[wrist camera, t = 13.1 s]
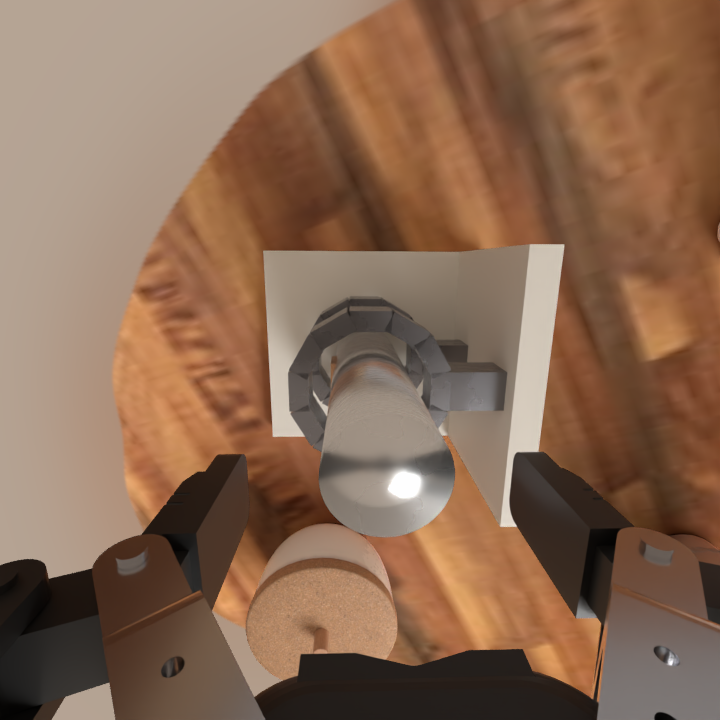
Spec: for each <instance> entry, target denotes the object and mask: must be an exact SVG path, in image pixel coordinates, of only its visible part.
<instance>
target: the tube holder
mask: <svg viewBox="0 0 720 720" xmlns="http://www.w3.org/2000/svg"><path fill="white" fill-rule="evenodd" d="M563 252H564V244H528V245H519V246H509V247H500V248H491V249H482V250H472V251H463V252H403V251H263V256H264V275H265V294H266V313H267V332H268V351H269V370H270V389H271V409H272V428H273V437H299V436H304V434H303V433H302V431H301V430H300V428H299V427H298V425H297V424H296V422H295V421H294V419H293V418H292V416H291V415H290V413H291V412H289V389H288V372H289V368H290V367H291V365H292V363H293V361H294V359H295V358H296V356H297V354H298V352H299V350H300V349H301V347H302V345H303V343H304V342H305V340H306V338H307V336H308V334H309V333H310V331H311V329H312V328H313V326H314V324H315V323H316V321H317V319H318V317H319V315H320V314H321V313H322V311H324V310H326V309H327V308H329V307H331V306H333V305H334V304H336V303H338V302H340V301H341V300H343V299H345V298H346V297H348V298H349V300H350V296H379V297H380V298H381V297H382V298H384V299H385V300H387V301H389V302H390V303H392V304H394V305H395V306H397V307H399V308H401V309H402V310H404V311H406V312H407V313H408V314H409V315H410V316H411V317H412V318H413V320H414V321H415V322H417V323H418V324H420V325H422V326H423V327H424V328H426V329H427V330H428V331H429V332H430V333H431V334H432V335H433V336H434V338H435V340H461V341H463V342H464V343H465V344H467V345H468V356H467V362H493V363H494V364H496V365H497V366H499V367H500V368H502V369H503V370H505V371H506V372H507V382H506V392H505V402H504V411H447V412H448V415H447V416H446V418H445V419H444V421H443V422H442V424H441V425H440V427H439V428H438V430H439V431H440V433H441V435H442V436H448V437H449V438H450V440H451V442H452V444H453V445H454V447H455V449H456V451H457V452H458V454H459V456H460V458H461V459H462V461H463V463H464V465H465V466H466V468H467V470H468V472H469V473H470V475H471V477H472V479H473V480H474V482H475V484H476V486H477V487H478V489H479V491H480V493H481V494H482V496H483V498H484V500H485V501H486V503H487V505H488V507H489V508H490V510H491V512H492V514H493V515H494V517H495V519H496V521H497V522H498V524H499V526H500V527H517V525H516V524H515V522H514V521H513V518H512V515H511V512H510V505H509V497H510V487H511V477H512V467H513V459H514V456H515V454H516V453H517V452H538V450H539V442H540V434H541V426H542V418H543V411H544V403H545V395H546V387H547V379H548V371H549V363H550V355H551V347H552V339H553V331H554V323H555V316H556V308H557V300H558V292H559V284H560V276H561V268H562V260H563ZM385 333H386V335H387V336H388V338H389V340H390V342H391V344H392V346H393V347H394V349H395V351H396V353H397V355H398V357H399V358H400V360H401V362H402V364H403V366H404V367H405V365H406V347H407V343H406V342H404V341H402V340H400V339H399V338H397V337H395V336H393V335H392V334H390V333H388V332H385ZM337 343H338V341H337V342H336V343H334V344H332V345H330V346H329V347H327V348H325V349H324V351H323V353H322V354H321V365H322V366H323V368H324V370H325V371H326V373H327V374H328V376H329V378H330V379H331V358H332V356H336V350H337ZM417 391H418V393H419V395H420V397H421V396H422V394H423V380H422V381H421V383H420V384H419V386H418V388H417ZM313 395H314V397H315V398H316V400H317V401H318V403H319V405H320V406H321V408H322V409H323V411H324V412H325V414H326V416H327V412H328V406H326V405H324V404H322V401H321V402H320V400H319V399H318V397H317V396H316V394H315V392H314V391H313Z"/></svg>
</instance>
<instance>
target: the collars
mask: <svg viewBox="0 0 720 720" xmlns="http://www.w3.org/2000/svg"><path fill="white" fill-rule="evenodd" d="M353 332H388V333H390V334H392V335H393V336H395V337H397V338H399V339H400V340H402V341H404V342H406V343H407V347H406V365H405V367H404V368H405V369H406V371H407V373H408V375H409V377H410V378H411V380H412V382H413V384H414V386H415V388H416V389H417V388H418V386H419V384H420V383H421V381H422V380H423V394H422V396H421V399H422V400H423V402H424V404H425V406H426V408H427V410H428V411H429V413H430V415H431V417H432V419H433V420H434V422H435V424H436V426H437V428H439V427H440V425H441V424H442V422H443V421H444V419H445V418H446V416H447V415H448V412H447V411H504V402H505V392H506V382H507V372H506V371H505V370H503V369H502V368H500V367H499V366H497V365H496V364H494V363H493V362H467V356H468V345H467V344H465V343H464V342H463V341H461V340H435V338H434V336H433V335H432V334H431V333H430V332H429V331H428V330H427V329H426V328H424V327H423V326H422V325H420V324H418V323H417V322H415V321H414V320H413V318H412V317H411V316H410V315H409V314H408V313H407V312H406V311H404V310H402V309H401V308H399V307H397V306H395V305H394V304H392V303H390V302H389V301H387V300H385V299H384V298H382V297H381V298H380V297H379V296H350V300H349V298H348V297H346V298H345V299H343V300H341V301H340V302H338V303H336V304H334V305H333V306H331V307H329V308H327V309H326V310H324V311H322V313H321V314H320V315H319V317H318V319H317V321H316V323H315V324H314V326H313V328H312V329H311V331H310V333H309V334H308V336H307V338H306V340H305V342H304V343H303V345H302V347H301V349H300V350H299V352H298V354H297V356H296V358H295V359H294V361H293V363H292V365H291V367H290V368H289V372H288V389H289V412H291V413H290V415H291V416H292V418H293V419H294V421H295V422H296V424H297V425H298V427H299V428H300V430H301V431H302V433H303V434H304V436H305V437H306V439H307V440H308V442H309V443H310V445H311V446H312V445H314V446H313V448H315V449H317V450H319V451H321V452H322V447H323V440H324V433H325V426H326V419H327V416H326V414H325V412H324V411H323V409H322V408H321V406H320V405H319V403H318V401H317V400H316V398H315V397H314V395H313V391H314V392H315V394H316V396H317V397H318V399H319V400H320V402H321V401H322V404H324V405H326V406H328V405H329V399H330V392H331V379H330V378H329V376H328V374H327V373H326V371H325V370H324V368H323V366H322V365H321V354H322V353H323V351H324V349H325V348H327V347H329V346H330V345H332V344H334V343H336V342H337V341H339V340H341V339H343V338H344V337H346V336H348V335H350V334H351V333H353Z"/></svg>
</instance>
